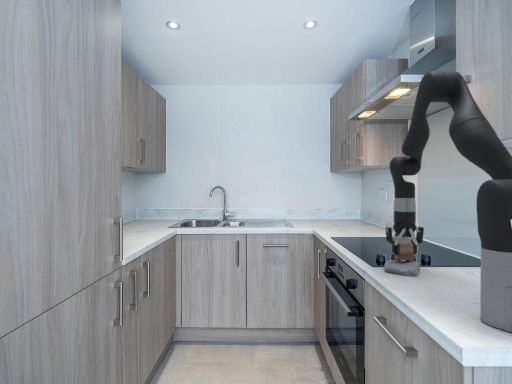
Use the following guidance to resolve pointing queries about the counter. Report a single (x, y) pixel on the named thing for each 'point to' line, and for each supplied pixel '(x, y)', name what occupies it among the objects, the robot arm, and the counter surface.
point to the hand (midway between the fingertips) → (404, 254)
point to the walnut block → (405, 252)
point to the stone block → (402, 267)
